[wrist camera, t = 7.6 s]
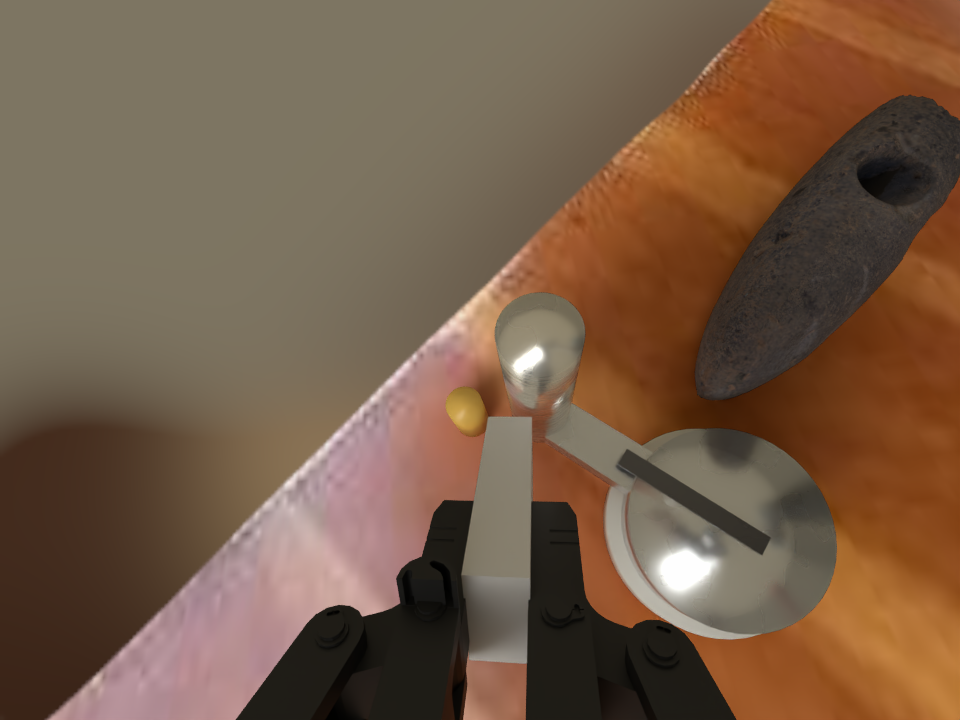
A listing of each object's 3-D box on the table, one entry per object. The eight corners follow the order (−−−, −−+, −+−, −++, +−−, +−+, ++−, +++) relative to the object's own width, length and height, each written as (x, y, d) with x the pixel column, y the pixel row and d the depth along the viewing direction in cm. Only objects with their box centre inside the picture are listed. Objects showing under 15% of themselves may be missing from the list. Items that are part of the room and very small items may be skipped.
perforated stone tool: (731, 447, 22) (807, 407, 16) (636, 374, 24) (670, 311, 18) (906, 230, 25) (1033, 120, 19) (810, 178, 27) (895, 61, 20)
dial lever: (837, 502, 19) (1083, 466, 11) (758, 669, 18) (970, 789, 9) (559, 342, 23) (569, 218, 14) (473, 468, 21) (426, 415, 13)
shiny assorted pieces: (692, 327, 24) (711, 299, 22) (839, 594, 20) (888, 602, 17) (391, 432, 24) (371, 417, 21) (466, 725, 20) (454, 756, 17)
